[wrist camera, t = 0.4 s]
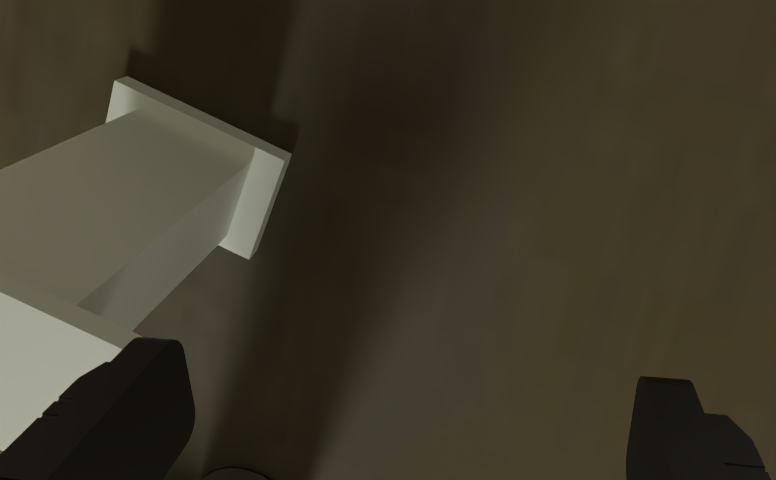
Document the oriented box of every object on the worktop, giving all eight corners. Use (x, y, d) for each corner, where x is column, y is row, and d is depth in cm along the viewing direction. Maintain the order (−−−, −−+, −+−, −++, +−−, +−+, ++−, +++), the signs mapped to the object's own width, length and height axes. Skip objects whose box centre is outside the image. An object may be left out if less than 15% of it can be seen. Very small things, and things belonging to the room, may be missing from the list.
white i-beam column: (282, 262, 46) (105, 498, 27) (79, 166, 46) (-247, 334, 27) (319, 167, 43) (146, 360, 23) (99, 63, 43) (-261, 169, 23)
